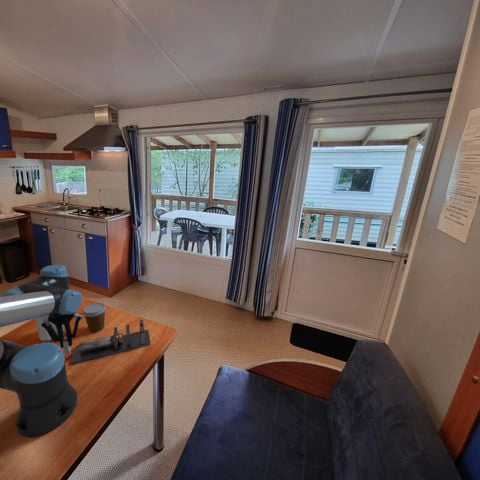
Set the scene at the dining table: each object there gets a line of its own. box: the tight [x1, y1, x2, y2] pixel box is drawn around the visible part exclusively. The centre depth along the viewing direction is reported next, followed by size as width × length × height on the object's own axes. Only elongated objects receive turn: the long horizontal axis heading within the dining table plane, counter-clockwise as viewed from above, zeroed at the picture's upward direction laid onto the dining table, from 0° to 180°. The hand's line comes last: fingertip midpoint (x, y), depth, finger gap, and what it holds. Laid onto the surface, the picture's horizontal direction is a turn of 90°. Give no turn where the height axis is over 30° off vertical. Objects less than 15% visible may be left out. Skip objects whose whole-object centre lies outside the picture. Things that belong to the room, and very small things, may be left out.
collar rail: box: [71, 319, 151, 365], centre depth 100 cm, size 10×30×8 cm, turn 117°
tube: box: [78, 332, 123, 352], centre depth 98 cm, size 16×4×4 cm, turn 117°
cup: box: [34, 315, 65, 343], centre depth 102 cm, size 11×11×17 cm
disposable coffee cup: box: [82, 302, 107, 333], centre depth 110 cm, size 10×10×12 cm
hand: (68, 352), depth 93 cm, fingers closed
